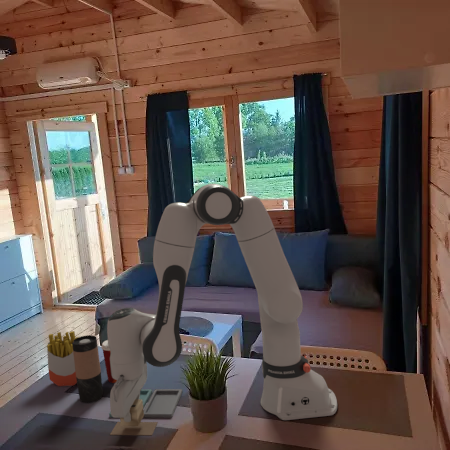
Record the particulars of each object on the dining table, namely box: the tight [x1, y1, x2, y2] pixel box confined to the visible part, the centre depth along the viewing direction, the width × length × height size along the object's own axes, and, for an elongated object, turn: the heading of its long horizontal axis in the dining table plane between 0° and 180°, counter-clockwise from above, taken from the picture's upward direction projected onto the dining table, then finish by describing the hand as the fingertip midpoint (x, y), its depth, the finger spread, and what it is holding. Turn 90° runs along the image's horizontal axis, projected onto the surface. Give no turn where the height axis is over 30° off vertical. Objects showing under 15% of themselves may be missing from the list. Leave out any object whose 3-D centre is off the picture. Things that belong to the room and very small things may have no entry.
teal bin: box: [108, 388, 153, 418], centre depth 137 cm, size 9×14×2 cm, turn 173°
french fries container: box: [46, 330, 79, 387], centre depth 154 cm, size 5×11×18 cm, turn 88°
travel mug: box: [72, 334, 104, 404], centre depth 142 cm, size 8×8×20 cm
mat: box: [109, 421, 159, 437], centre depth 125 cm, size 12×6×1 cm, turn 83°
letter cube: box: [119, 399, 145, 426], centre depth 124 cm, size 5×5×5 cm
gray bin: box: [143, 388, 183, 419], centre depth 136 cm, size 9×14×2 cm, turn 173°
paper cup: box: [101, 339, 117, 384], centre depth 154 cm, size 8×8×14 cm
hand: (132, 413), depth 124 cm, fingers closed on letter cube, 5 cm apart
